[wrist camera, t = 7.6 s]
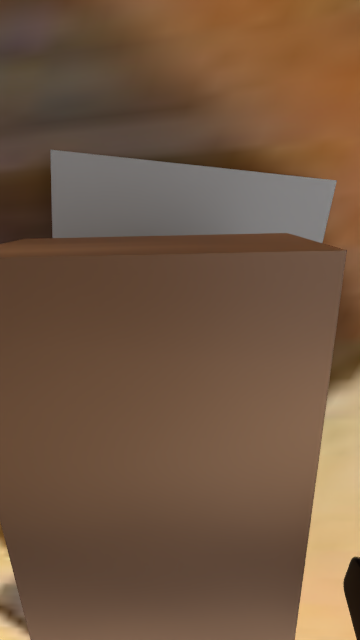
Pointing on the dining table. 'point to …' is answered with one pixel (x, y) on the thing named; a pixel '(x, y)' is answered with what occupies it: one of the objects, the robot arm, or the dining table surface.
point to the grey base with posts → (180, 199)
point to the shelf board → (163, 430)
